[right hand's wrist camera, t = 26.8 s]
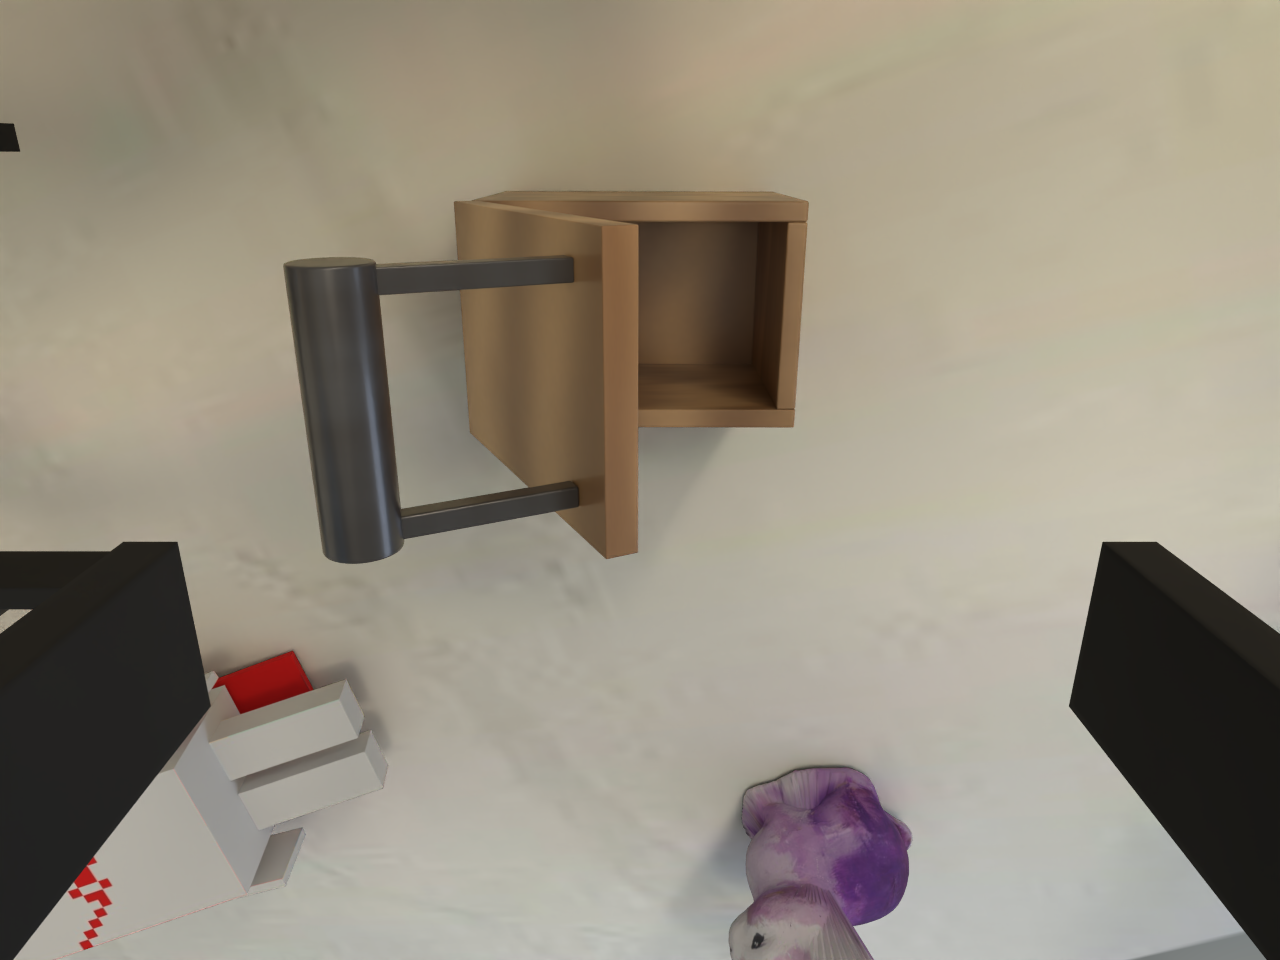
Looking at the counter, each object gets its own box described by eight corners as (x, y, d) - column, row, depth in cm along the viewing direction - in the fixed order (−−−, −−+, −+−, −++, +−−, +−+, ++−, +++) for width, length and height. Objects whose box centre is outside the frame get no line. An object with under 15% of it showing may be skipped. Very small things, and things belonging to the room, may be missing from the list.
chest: (773, 191, 44) (809, 201, 35) (763, 375, 47) (794, 427, 38) (504, 191, 44) (469, 200, 35) (514, 374, 47) (484, 427, 38)
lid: (639, 224, 23) (288, 236, 19) (638, 552, 26) (339, 616, 22) (480, 200, 34) (244, 205, 31) (493, 429, 38) (282, 458, 34)
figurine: (701, 816, 57) (721, 1031, 43) (823, 728, 55) (886, 926, 41) (792, 897, 60) (839, 1126, 45) (912, 816, 57) (1001, 1032, 43)
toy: (390, 882, 47) (-154, 1068, 46) (417, 737, 59) (-9, 880, 58) (296, 698, 43) (-302, 898, 42) (347, 585, 55) (-112, 736, 54)
